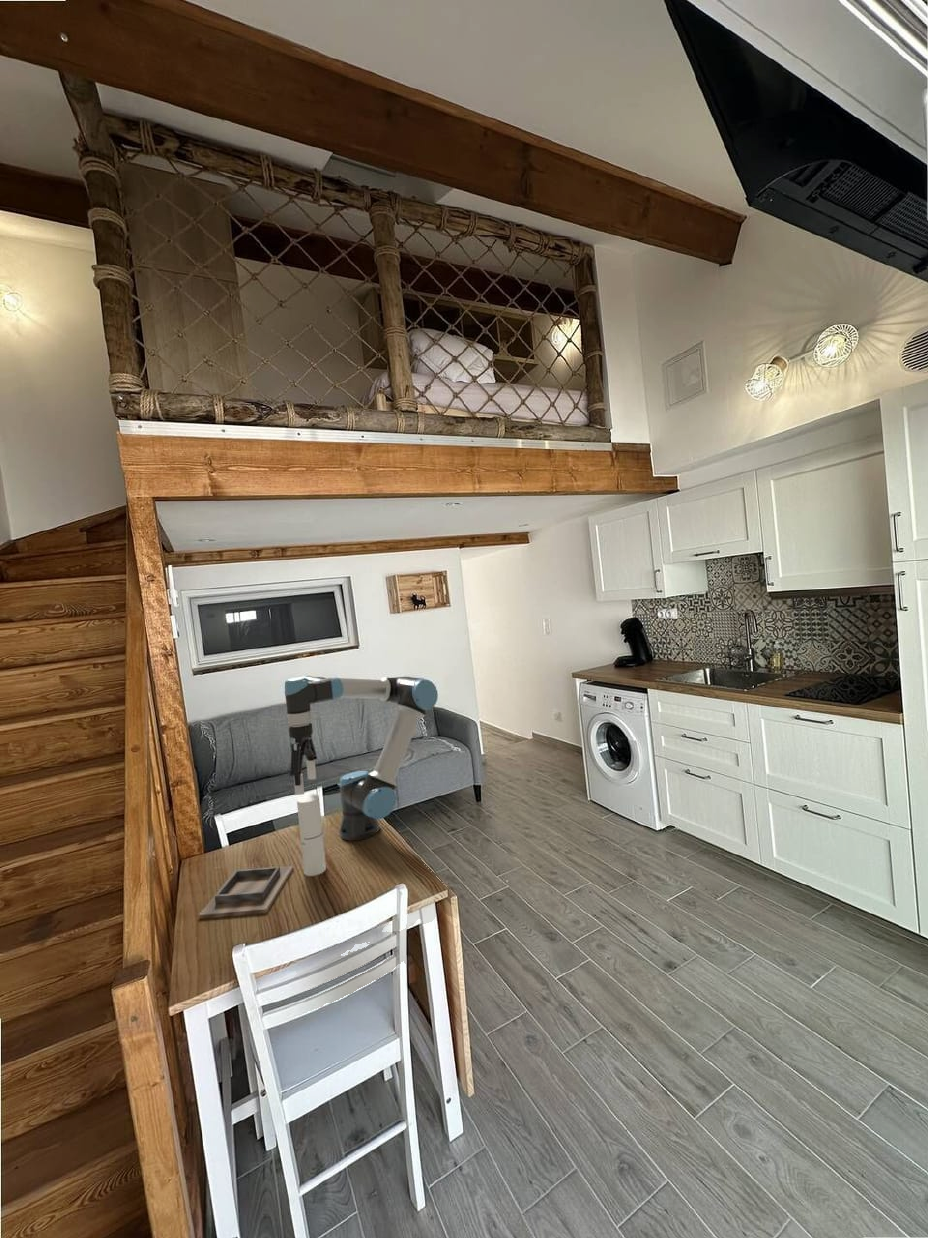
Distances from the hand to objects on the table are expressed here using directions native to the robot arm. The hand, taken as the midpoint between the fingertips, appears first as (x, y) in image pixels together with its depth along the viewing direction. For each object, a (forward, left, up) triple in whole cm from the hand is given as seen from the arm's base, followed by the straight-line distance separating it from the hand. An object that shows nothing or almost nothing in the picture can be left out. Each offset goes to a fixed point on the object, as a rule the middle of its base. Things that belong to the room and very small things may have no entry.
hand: (306, 786), depth 169 cm
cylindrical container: (0, 0, -29) cm, 29 cm away
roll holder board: (+18, +10, -29) cm, 35 cm away
